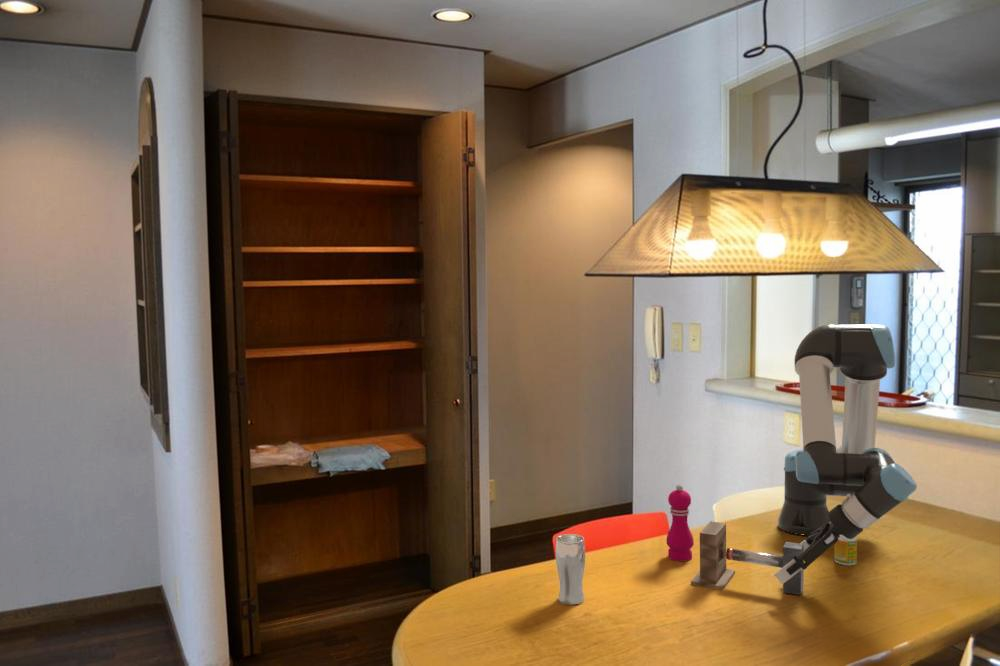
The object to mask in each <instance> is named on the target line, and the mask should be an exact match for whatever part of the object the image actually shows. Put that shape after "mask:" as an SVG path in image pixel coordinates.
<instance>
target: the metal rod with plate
mask: <svg viewBox="0 0 1000 666" xmlns="http://www.w3.org/2000/svg"><path fill="white" fill-rule="evenodd" d="M803 552H804V544H800V543H797V542H789V541H785V543H784V545H783V547H782V555H780V554H779V555H778V554H771V553H766V552H759V551H750V550H747V549H746V550H745V549H737V548H732V547H726V560H728V561H735V562H741V563H747V564H755V565H760V566H768V567H773V568H780V569H781V568H783V567H784V566H785V565H786V564H788V563H789V562H790V561H792V560H793V558H792V557H793V556H796V557H798V556H799V555H800V554H801V553H803ZM802 561H803V560H802ZM803 562H804V561H803ZM804 563H805V562H804ZM804 575H805V574H804V570H803V569H802V570H801V571H799V572H798V573H797V574H795V575H794V576H793V577H791V578H790V579H789V580H787V581H786V582H785V583H783V584H782V592H783V593H786V594H791V595H792V594H793V595H799V596H801V595H802V593H803V591H804V588H805V587H804V581H805V580H804Z"/></svg>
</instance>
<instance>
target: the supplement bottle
mask: <svg viewBox="0 0 1000 666" xmlns="http://www.w3.org/2000/svg"><path fill="white" fill-rule="evenodd" d="M839 536H840V537H839V538H838V539H839V540H838V541H837V542H836V543H835V544H833V546H834V552H833V553H834V556H833V557H834V558H833V559H834V562H835V563H837V564H838V563H839V564H838V565H841V564H842V565H843V566H854V565H856V564H857V562H858V537H857V536H856V537H854V538H853V539H848V538H846V537H845V536H843V535H839ZM842 565H841V566H842Z"/></svg>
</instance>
